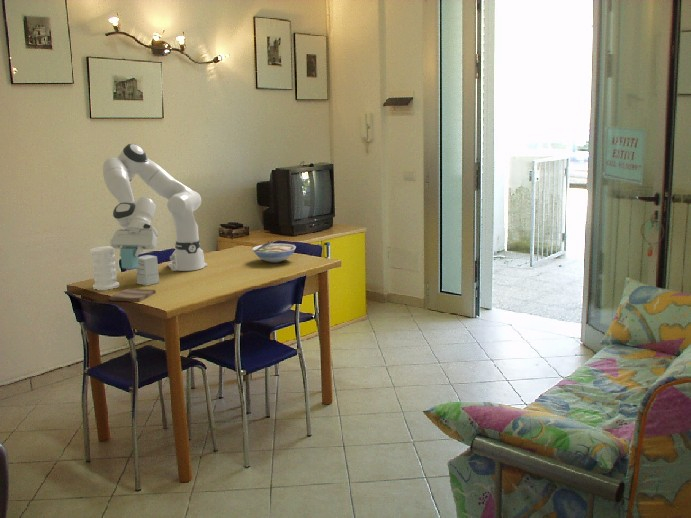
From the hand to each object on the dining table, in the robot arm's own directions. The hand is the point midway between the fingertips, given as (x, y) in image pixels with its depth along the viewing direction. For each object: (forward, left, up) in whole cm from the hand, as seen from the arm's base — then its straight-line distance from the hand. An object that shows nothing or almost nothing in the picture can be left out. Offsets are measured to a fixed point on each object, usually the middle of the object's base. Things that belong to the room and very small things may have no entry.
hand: (128, 256), depth 297 cm
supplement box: (-20, +14, -18) cm, 31 cm away
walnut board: (0, +1, -18) cm, 18 cm away
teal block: (-1, +1, -5) cm, 5 cm away
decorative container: (-25, -4, -18) cm, 32 cm away
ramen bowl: (-25, +83, -18) cm, 88 cm away
